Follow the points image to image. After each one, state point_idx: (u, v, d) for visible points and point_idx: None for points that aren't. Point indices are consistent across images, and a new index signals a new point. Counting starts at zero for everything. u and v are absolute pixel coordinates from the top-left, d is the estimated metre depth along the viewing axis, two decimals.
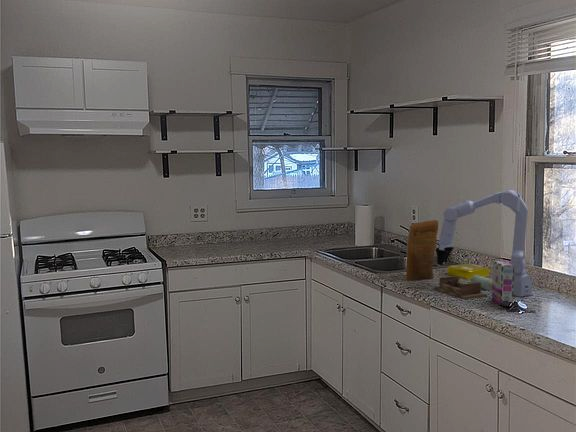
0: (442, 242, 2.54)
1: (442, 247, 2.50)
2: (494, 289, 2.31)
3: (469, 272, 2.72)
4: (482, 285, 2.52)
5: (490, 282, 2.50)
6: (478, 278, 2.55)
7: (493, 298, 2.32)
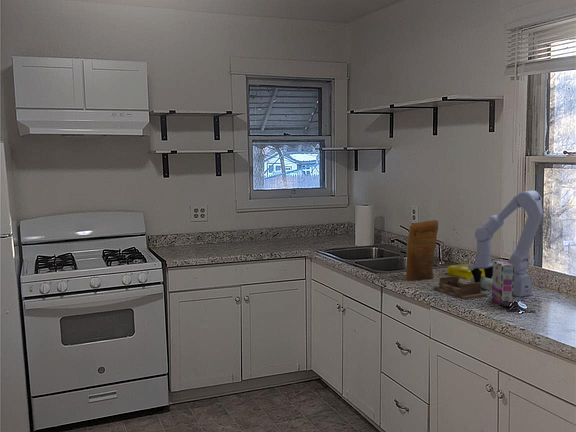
0: (476, 263, 2.54)
1: (470, 267, 2.51)
2: (494, 289, 2.31)
3: (469, 272, 2.72)
4: (482, 285, 2.52)
5: (490, 282, 2.50)
6: None
7: (493, 298, 2.32)
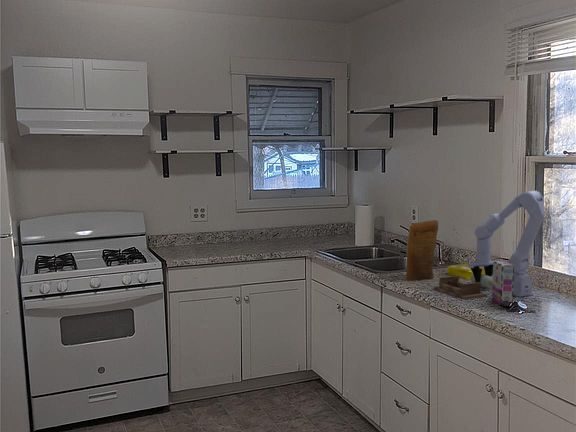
0: (477, 260, 2.54)
1: (470, 265, 2.51)
2: (494, 289, 2.31)
3: (469, 272, 2.72)
4: (482, 283, 2.51)
5: (490, 280, 2.50)
6: None
7: (493, 298, 2.32)
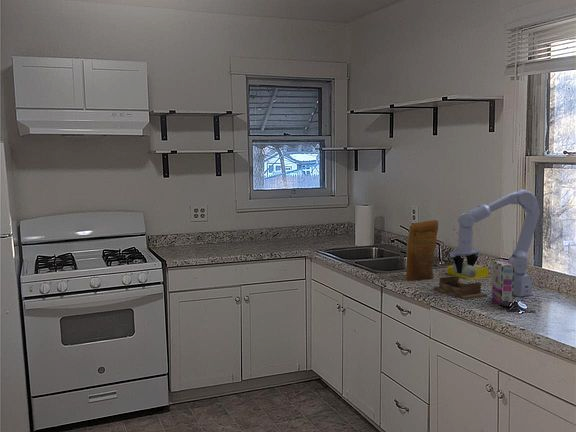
0: (458, 249, 2.46)
1: (451, 254, 2.44)
2: (494, 289, 2.31)
3: None
4: (464, 272, 2.44)
5: (472, 270, 2.43)
6: None
7: (493, 298, 2.32)
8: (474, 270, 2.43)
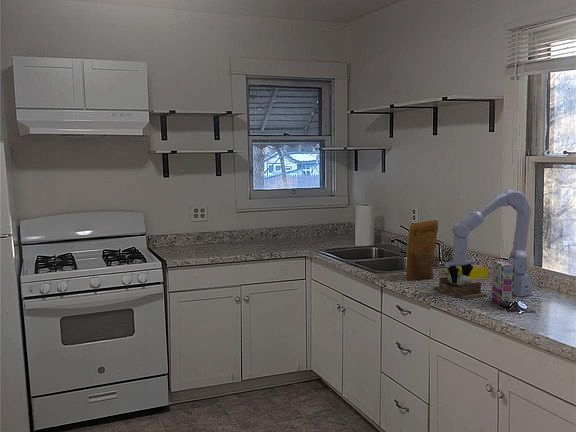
0: (453, 260, 2.45)
1: (446, 264, 2.42)
2: (494, 289, 2.31)
3: None
4: (459, 283, 2.43)
5: (467, 280, 2.41)
6: None
7: (493, 298, 2.32)
8: (469, 280, 2.42)
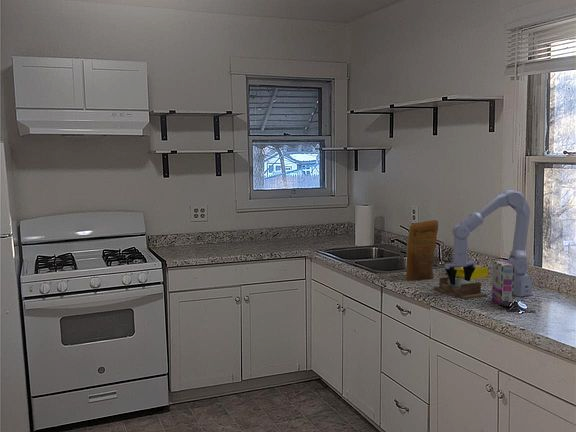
0: (453, 261, 2.45)
1: (446, 265, 2.42)
2: (494, 289, 2.31)
3: None
4: (459, 287, 2.43)
5: None
6: None
7: (493, 298, 2.32)
8: None
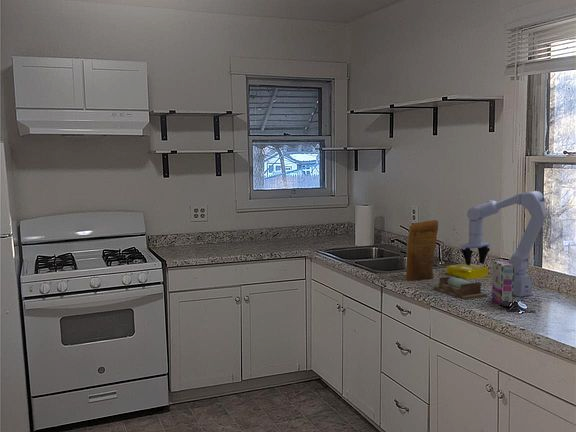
0: (469, 242, 2.55)
1: (462, 246, 2.52)
2: (494, 289, 2.31)
3: (468, 272, 2.73)
4: (459, 287, 2.43)
5: None
6: (454, 280, 2.46)
7: (493, 298, 2.32)
8: None
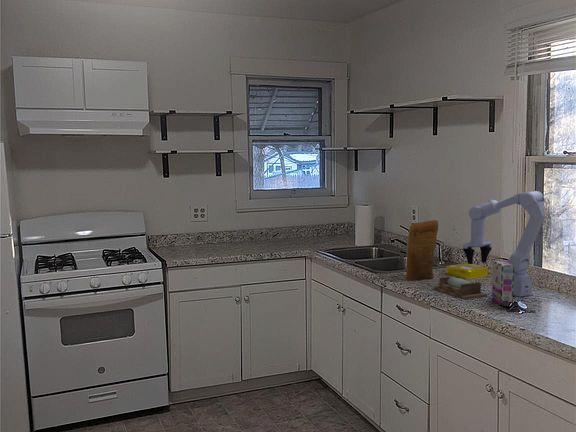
0: (471, 241, 2.56)
1: (464, 245, 2.54)
2: (494, 289, 2.31)
3: (468, 272, 2.73)
4: (459, 287, 2.43)
5: None
6: (454, 280, 2.46)
7: (493, 298, 2.32)
8: None
